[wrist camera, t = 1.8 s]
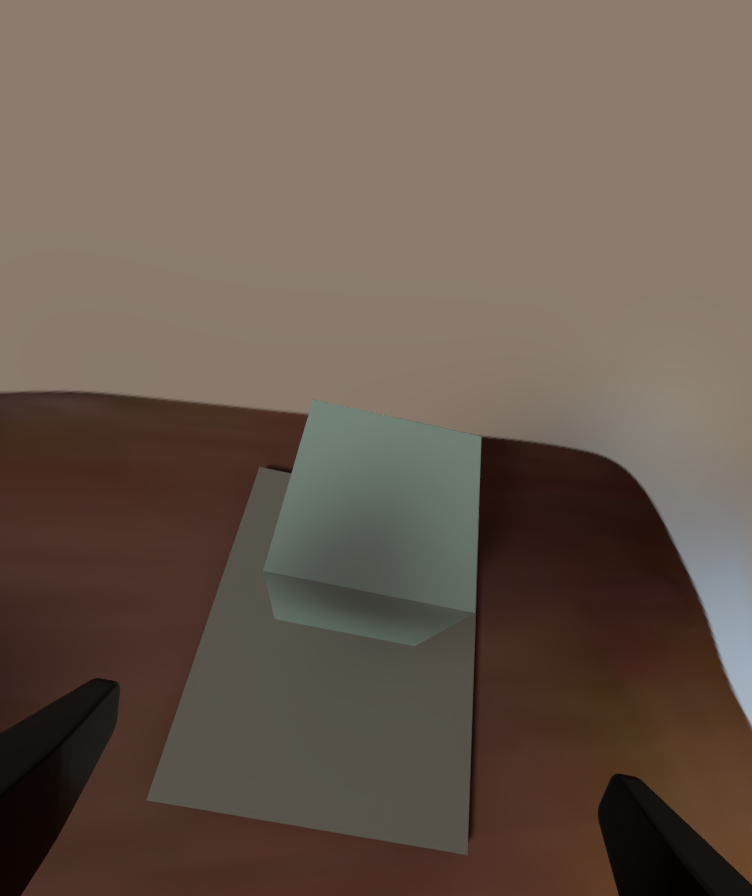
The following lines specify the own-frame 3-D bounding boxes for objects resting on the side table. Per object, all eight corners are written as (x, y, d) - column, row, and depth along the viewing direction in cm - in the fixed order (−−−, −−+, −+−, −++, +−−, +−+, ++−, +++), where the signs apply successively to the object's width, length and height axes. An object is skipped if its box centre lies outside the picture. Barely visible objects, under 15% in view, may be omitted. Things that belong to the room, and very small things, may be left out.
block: (414, 646, 20) (475, 612, 13) (274, 619, 20) (263, 570, 13) (427, 516, 23) (481, 436, 17) (308, 491, 23) (313, 399, 16)
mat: (462, 851, 17) (491, 875, 15) (151, 797, 16) (124, 813, 14) (475, 517, 24) (496, 494, 22) (260, 472, 24) (255, 443, 21)
